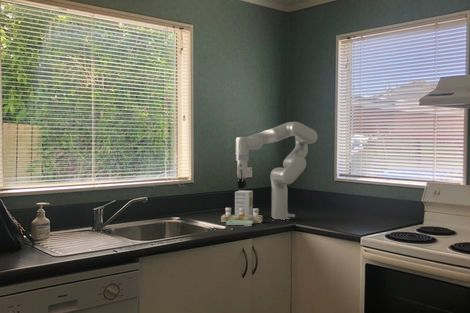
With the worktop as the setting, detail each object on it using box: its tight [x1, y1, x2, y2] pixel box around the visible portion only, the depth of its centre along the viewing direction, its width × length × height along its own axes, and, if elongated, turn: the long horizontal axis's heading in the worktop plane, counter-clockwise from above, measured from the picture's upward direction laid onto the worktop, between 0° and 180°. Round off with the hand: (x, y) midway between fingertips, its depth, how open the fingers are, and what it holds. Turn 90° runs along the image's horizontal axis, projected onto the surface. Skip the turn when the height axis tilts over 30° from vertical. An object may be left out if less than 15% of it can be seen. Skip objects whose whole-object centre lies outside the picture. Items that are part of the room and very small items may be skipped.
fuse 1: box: [225, 207, 232, 216], centre depth 276 cm, size 3×3×8 cm
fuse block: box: [220, 214, 264, 224], centre depth 275 cm, size 23×8×4 cm, turn 82°
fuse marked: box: [239, 208, 245, 217], centre depth 275 cm, size 3×3×8 cm
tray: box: [225, 220, 254, 227], centre depth 265 cm, size 14×9×2 cm, turn 82°
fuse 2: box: [253, 207, 260, 217], centre depth 273 cm, size 3×3×8 cm
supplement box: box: [234, 190, 254, 215], centre depth 292 cm, size 10×9×17 cm
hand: (241, 187), depth 274 cm, fingers open, 9 cm apart
